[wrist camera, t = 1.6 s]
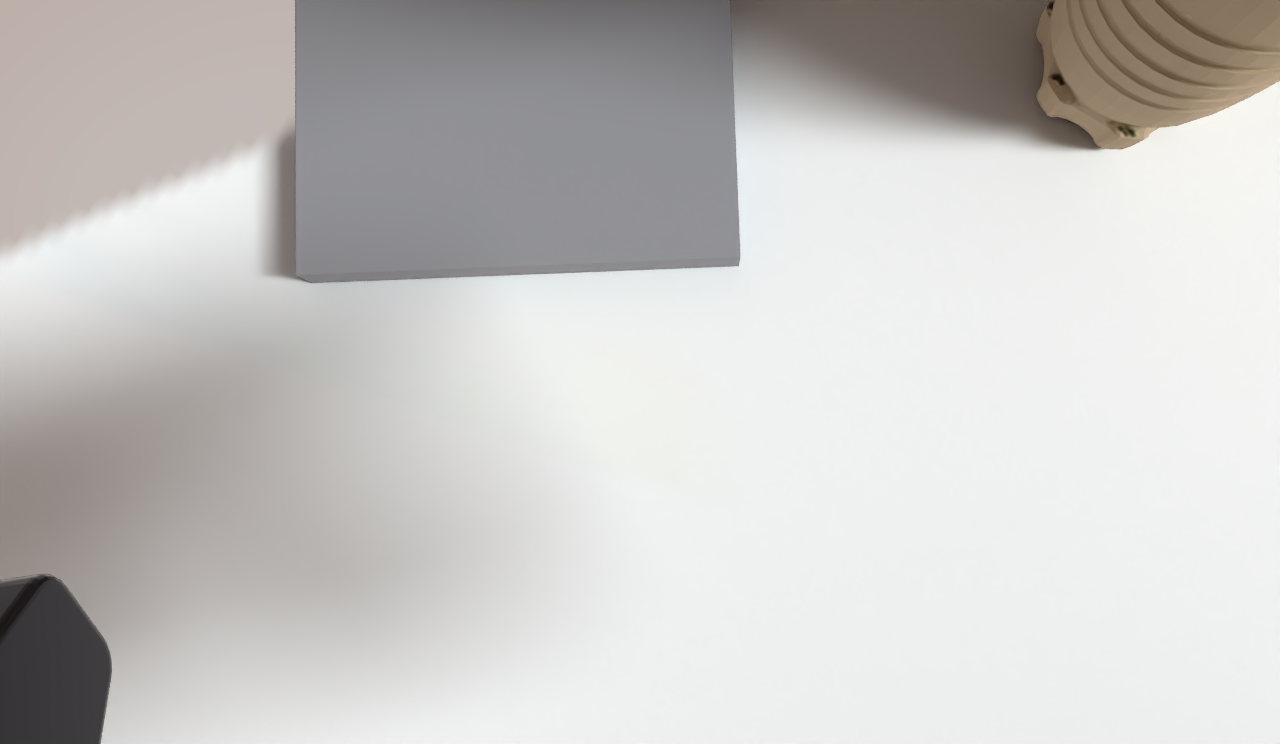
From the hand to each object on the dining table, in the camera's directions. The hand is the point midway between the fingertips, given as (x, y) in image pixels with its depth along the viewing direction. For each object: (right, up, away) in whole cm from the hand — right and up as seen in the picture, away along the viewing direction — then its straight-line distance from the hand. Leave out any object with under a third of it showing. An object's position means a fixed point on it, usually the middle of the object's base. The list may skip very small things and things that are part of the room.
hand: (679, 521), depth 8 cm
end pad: (-3, +6, +13) cm, 15 cm away
